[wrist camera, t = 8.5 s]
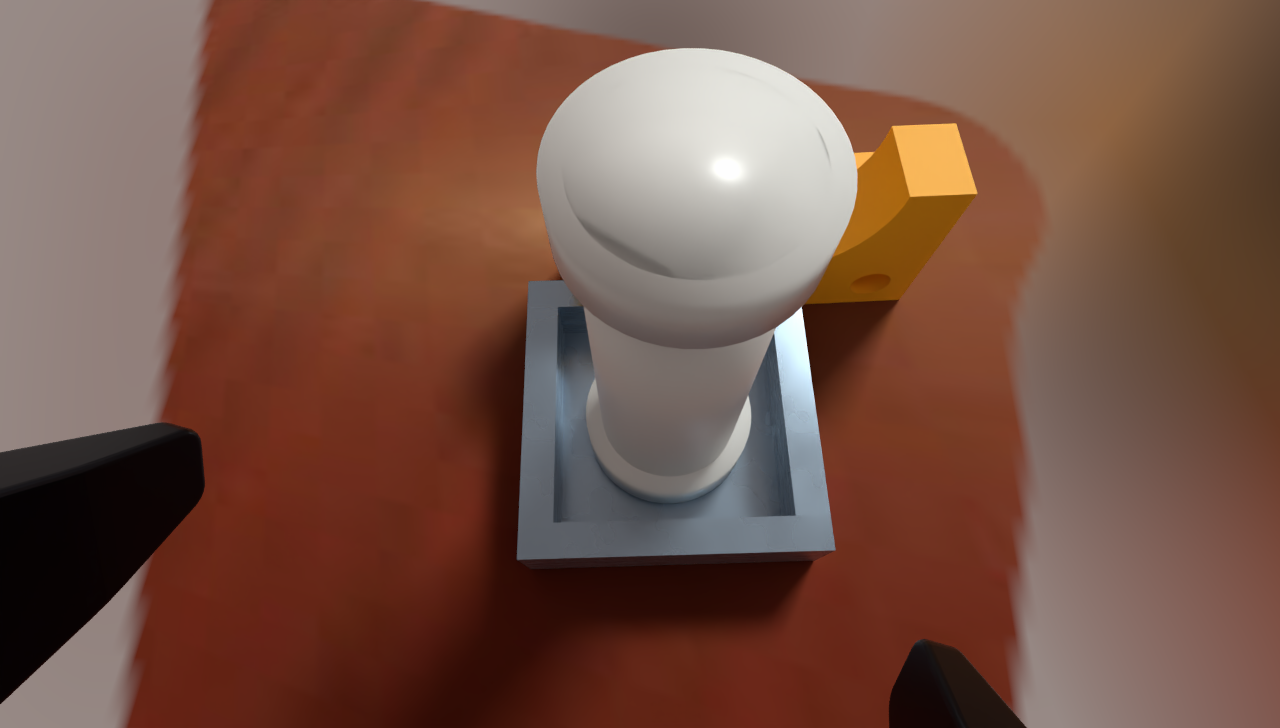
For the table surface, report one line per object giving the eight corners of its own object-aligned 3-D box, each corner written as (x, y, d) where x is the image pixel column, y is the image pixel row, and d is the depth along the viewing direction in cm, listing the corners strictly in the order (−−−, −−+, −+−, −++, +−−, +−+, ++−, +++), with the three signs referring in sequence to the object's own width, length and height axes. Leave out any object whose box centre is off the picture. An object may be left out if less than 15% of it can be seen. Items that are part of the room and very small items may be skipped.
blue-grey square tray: (814, 560, 21) (835, 550, 19) (530, 569, 21) (516, 560, 19) (782, 308, 25) (797, 274, 22) (539, 315, 25) (528, 281, 22)
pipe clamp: (875, 206, 27) (942, 79, 21) (897, 301, 25) (977, 193, 19) (576, 219, 26) (556, 95, 21) (577, 316, 25) (557, 212, 19)
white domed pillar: (719, 525, 21) (821, 357, 9) (565, 472, 22) (474, 251, 10) (761, 381, 23) (893, 86, 11) (620, 337, 24) (599, 14, 12)
